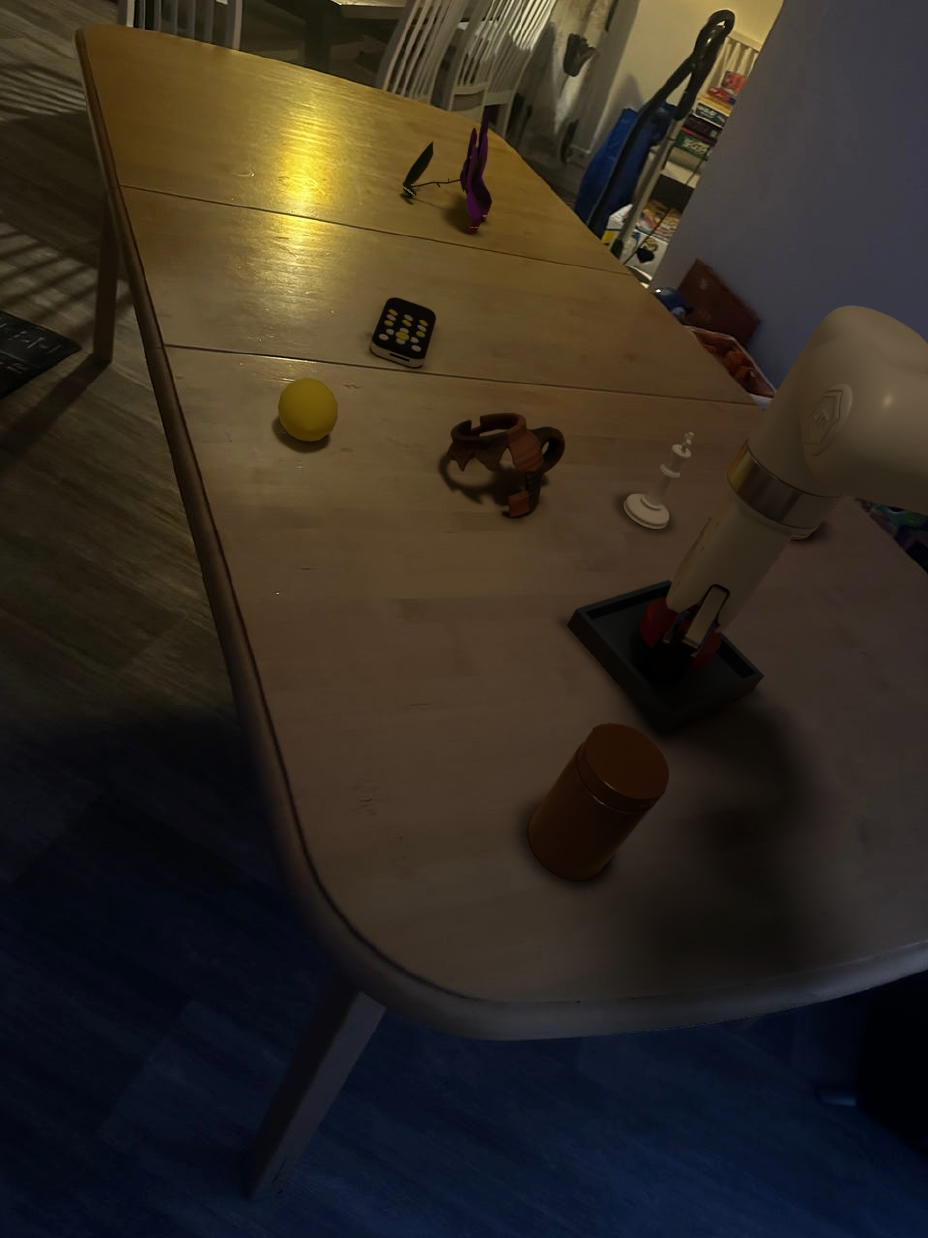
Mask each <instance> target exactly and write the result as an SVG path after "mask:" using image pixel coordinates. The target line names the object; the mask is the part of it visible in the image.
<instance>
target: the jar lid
mask: <svg viewBox="0 0 928 1238" xmlns="http://www.w3.org/2000/svg"><path fill="white" fill-rule="evenodd" d="M666 598H667V597H665V598H659V599H656V600H654V601H653V602H651V603H650V605H649V606H648V608H647V610H646V611H645V613H644V615H643V617H642V618H641V620H640V632H641V635H642V637H643V639H644V640H645V642H646V643H647V645H648V646H649V647H650V648H652V647H653V645H654V644H655V642H656V641H657V639H658V638H659V636H660V635H661V633H663V634H666V632H667V631H668V629H669V627H670V626H671V624H672V622H673V621H674V619H675V617H676V616H677V614H678V613H677V612H676V611H674V610H672V609H671V610H670V609H668V607H667V604H666ZM688 609H690V610H692V611H693V612H695V613H696V612H697V610H698V607H696V606H694V605H693V606H691V607H690V608H688ZM690 623H691V621H689V620H687V619H684V620H683V622H682V624H681V625H680V627H679V629H678V630H677V631H679V630H682V631H685V630H686V629H687V628H688V626H689V625H690ZM720 645H721V634H720V633H713V630H712V631H711V633H710V634H709V636H708V637H707V639H706V641H705V642H704V644H703V645H702V647H701V649H700V650H699V652H698V655H697V657H696V658H695V660H694V661H693V662H692V664H691V665H690V667H700V666H703V665H705V664H707V663H708V662H709V661H710V660H711V658H712V657H713V655H714V654H715V653H716V651H717V650H718V648H719V647H720Z"/></svg>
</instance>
